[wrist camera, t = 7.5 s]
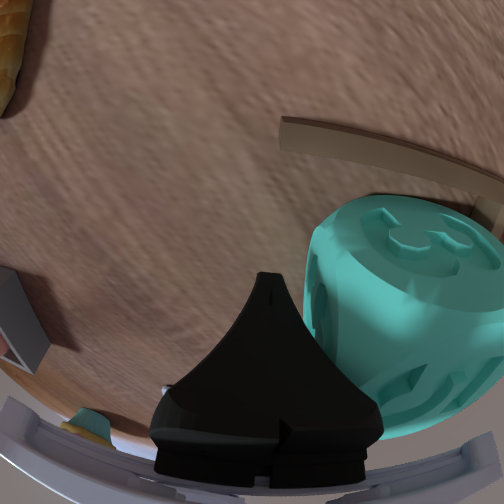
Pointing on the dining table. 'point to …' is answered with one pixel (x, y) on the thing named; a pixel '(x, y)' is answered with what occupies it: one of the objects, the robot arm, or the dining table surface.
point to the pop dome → (3, 346)
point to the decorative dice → (408, 306)
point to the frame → (399, 162)
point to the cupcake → (90, 427)
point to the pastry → (12, 44)
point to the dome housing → (20, 324)
